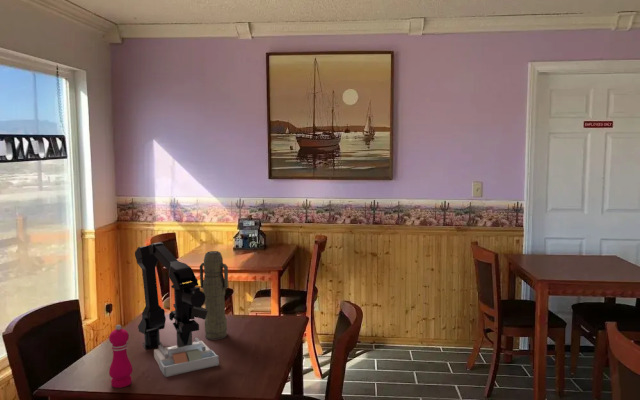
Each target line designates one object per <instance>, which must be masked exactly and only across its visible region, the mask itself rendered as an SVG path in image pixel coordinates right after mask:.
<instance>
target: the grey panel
mask: <svg viewBox="0 0 640 400" xmlns="http://www.w3.org/2000/svg"><path fill="white" fill-rule="evenodd" d="M201 341H202V340H200V341H199V342H195V341H193V332H190V335H189V339H188V343H187V345H184V344H183V342H182V339H181V337H180V335H179V332H177V331H176V345H177V346H176V345H172V346H173V347H171V346H167V347H168V348H167V352H168V357H169V358H170V357H173V355H175V354H180V353H185V352H186V354H187V352H190V351H195V350H200V351H202V343H201ZM192 342H194V343H192Z"/></svg>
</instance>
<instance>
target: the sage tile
mask: <svg viewBox="0 0 640 400" xmlns="http://www.w3.org/2000/svg"><path fill="white" fill-rule="evenodd" d="M187 358H188V361H193V360H198V359H202V357H201V354H200V350H195V351H190V352H187Z"/></svg>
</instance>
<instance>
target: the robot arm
mask: <svg viewBox="0 0 640 400" xmlns="http://www.w3.org/2000/svg"><path fill="white" fill-rule="evenodd" d="M134 257H135V261H136V264H137V265H138V267H140V268H141V273H142V283H143V293H144V301H145V302H144V303H145V307H144V309H143V311H142V313H141V320H140V322H139V323H138V324H137V329H138V332H139V333H141V334H144V335H143V337H144V342H142V346H143V348H144V349H145V350H149V349H154V348H155V349H156V348H158V345H162V346H163V343H162V342H161V338H160V337H161V336H160V330H164V329H165V327H166V319H167V318H166V315H165V314H166V313H165V312H166V311H165V309H164V308H162V307H161V305H160V304H159V292H158V285H157V276H156V275H157V274H156V273H157V272H156V267H157V265H158V263H159V262H160V263H161V265H162V266H163V267H164V268H165V269H166V270H167V272H168V278H169V279H170V281H171V283H172V285H171V287H170V288H171V289H173V296H174V303H173V308H174V310H172V311H170V312H169V315H168V317H169V320H170V321H174V322H172V325H173V327H174V329H175V331H176V333H177V332H179V335H180V337H181V339H182V342H183V344H184V345H187V343H188V339H189V335H190V332H192V333H193V332H199V330H200V324H199V323H198V322H197V321H196V320H195V318H198V319H202V320H204V321H205V319H206V316H207V313H208V311H207V310H206V309H205V307H202V306H203V305H205V295H204V292H203V290H202V291H201V286H200V287H199V285H200V284H199V282H198V278H197V276H196V274H195V271H193V268H192V267H191V266H190V265H188V264H187V263H185V262H182V261H179V260H178V259H177V258H176V257H175V256H174V255H173V253H172V252H170V250H169V249H168V248H167V247H166V245H165V243H164V242H160V241H159V242H154V243H153V242H152V243H151V244H149V245H144V246H143V245H142V246H138V247H137V248H136V249H135V252H134Z"/></svg>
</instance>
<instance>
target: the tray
mask: <svg viewBox="0 0 640 400" xmlns="http://www.w3.org/2000/svg"><path fill="white" fill-rule="evenodd" d="M200 354H201V357H202V359H198V360H193V361H188V362H184V363H179V364H174V361H173V359H171V360H166V361H161V360H159V364H158V367H159V370H160V372H161V373H162V375H163V377H164V378H167V377H171V376H177V375H180V374H185V373H189V372H195V371H199V370H203V369H208V368H212V367H218V366H219V365H220V357H219V355H217V354H216V353H215V351H214V350H213V349H210V352H205V353H200ZM187 359H188V358H187Z"/></svg>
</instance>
